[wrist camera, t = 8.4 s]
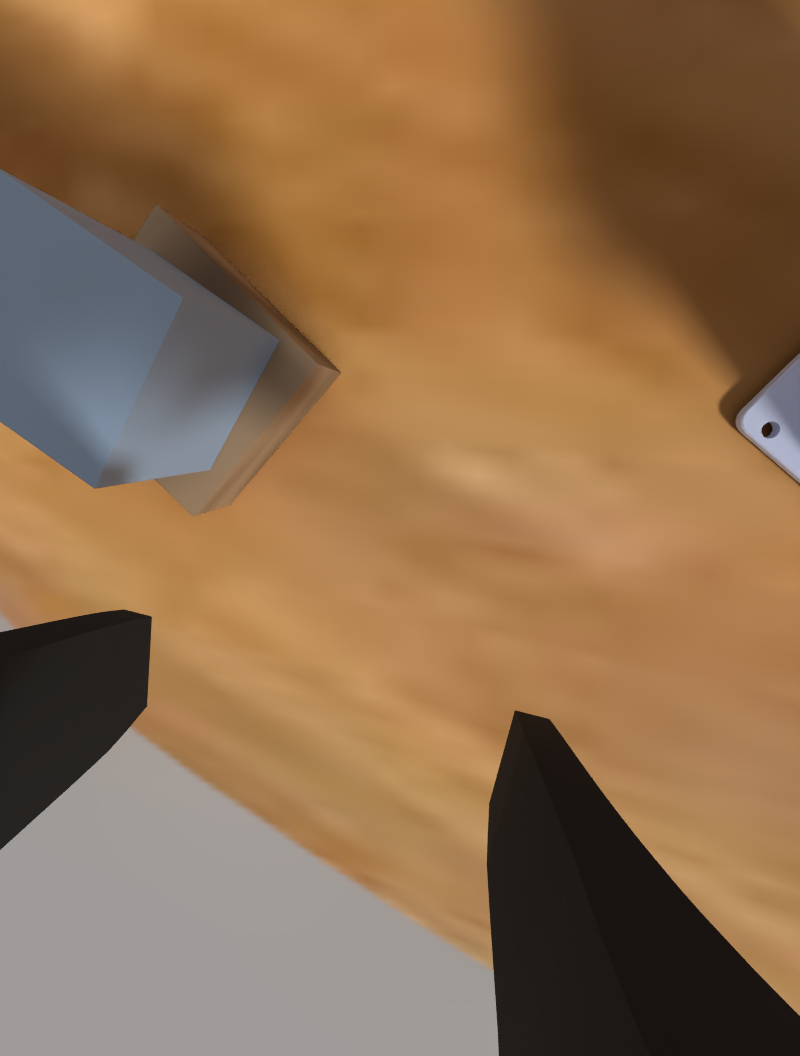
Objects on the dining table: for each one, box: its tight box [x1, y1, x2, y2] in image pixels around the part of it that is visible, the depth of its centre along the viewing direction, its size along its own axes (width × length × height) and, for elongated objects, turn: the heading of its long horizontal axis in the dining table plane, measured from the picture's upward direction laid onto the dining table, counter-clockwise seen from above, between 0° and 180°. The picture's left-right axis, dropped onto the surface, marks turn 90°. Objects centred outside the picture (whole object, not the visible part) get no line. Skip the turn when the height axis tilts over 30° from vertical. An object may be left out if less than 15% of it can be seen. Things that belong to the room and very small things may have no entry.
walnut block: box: [133, 204, 341, 516], centre depth 17 cm, size 7×7×3 cm
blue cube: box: [0, 169, 280, 489], centre depth 13 cm, size 5×5×5 cm
